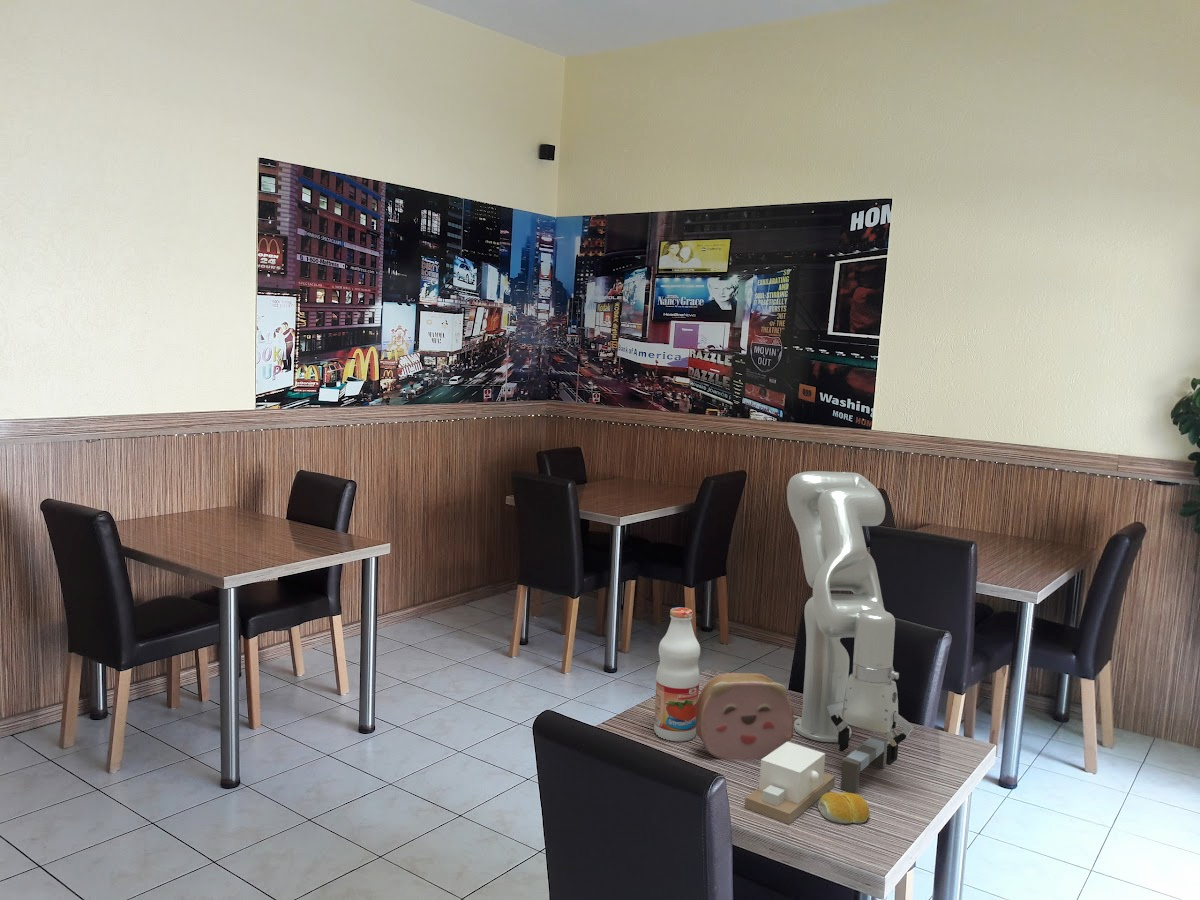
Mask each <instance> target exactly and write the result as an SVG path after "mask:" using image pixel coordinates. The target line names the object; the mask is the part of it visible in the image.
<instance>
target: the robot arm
mask: <svg viewBox="0 0 1200 900" xmlns="http://www.w3.org/2000/svg"><path fill="white" fill-rule="evenodd" d="M786 500H787V506H788V510H789V512H790V517H791V518H792V521H793V523H794V525H795V527H796V530H797V533H798V537H799V542H800V549H801V550H800V551H801V556H802V557H801V558H802V564H803V569H804V570H803V571H804V574H805V575H804V576H805V579H806V580H805V581H806V582H807V584H808V586H809V587H810V588H812V596H811V597H810V598H808V600H807V601H806V603H805V605H804V611H803V612H804V623H805V635H806V636H805V637H806V638H805V639H806V642H805V643H806V646H805V666H804V679H803V680H804V681H803V691H802V692H803V693H802V709H801V717H799V718H797V719H795V720H794V723H793V730H794V731H795V732H796V733H797V734H798V735H801V736H802V737H804V738H806V739H810V740H812V741H815V742H822V743H823V742H824V743H837V745H839V747H838V749H839V750H838V751H839V752H844V751H846V750H847V749H848V748H849V746H850V742H849V741H850V738H851V737H852V733H853V732H852V728H851V726H852V727H855V728H859V729H862V730H866V731H869V732H873V733H877V734H881V735H884V736H885V739H887V742H889V743H887V752H886V765H887V766H891V765H893V763H894V762H896V761H897V760H898V753H899V752H898V751H899V744H900V743H901V742H903V741H905V740H906V739H907V738H908V737H909V735H911V733H912V731H913V729H914V725H913V724H912V723H910V722H909V721H908V720H906V719H905V718H904V717H903V716H902V715H900V714H899V699H898V697H899V696H898V688H897V683H896V681H895V680H899V678H900V672H898V671H895V669H894V666H893V663H894V662H893V661H894V649H895V648H894V647H895V632H896V619H895V616H894V615H893V614H892V613H891V612H888V611H886V609H885V606H884V601H883V597H882V589H881V585H880V579H879V576H878V570H877V566H876V563H875V562H876V561H875V559H874V558H873V557H872V555H871V554H870V553H869V552H868V549H867V544H866V540H865V536H864V530H863V527H877V526H879V525H881V524H882V523H883V522H884V519H885V516H886V504H885V500H884V498H883V496H882V494H881V492H880V490H878V488H877V487H876V486H875V485H874V484H873V483H872V482H870V480H868V479H867V478H866V477H864V476H863V475H862V474H860V473H858V472H853V471H852V472H851V471H824V470H822V471H821V470H820V471H819V470H811V471H810V470H808V471H802V472H799V473H796V474H794V475H793V476H791V478H790V479H789V480H788V483H787V489H786ZM831 591H850V592H852V593H831ZM843 638H854V641H853V642H854V645H853V656H852V657H853V658H852V659H853V660H852V672H851V673H850V674H849V672H850V656H849V655H850V654H849V653H848V650H847V649H846V648H845V646H844V645H843V644H842V642H841V639H843ZM898 726H900V727H901V728H902V731H901V733H898V732H897V730H896V729H897V728H898Z"/></svg>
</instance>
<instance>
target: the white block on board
mask: <svg viewBox="0 0 1200 900" xmlns="http://www.w3.org/2000/svg"><path fill="white" fill-rule="evenodd" d="M825 762H826V753H824V752H821V751H817V750H816V749H812V748H809V747H805V746H802V745H800V744H796V743H792V742H790V741H788V742H786V743H785V744H783V745H782V746H780V747H779V748H777V749H776V750H774V751H773V752H771V753H770V754H769V755H767V756H766V757H764V758H763V759H760V767H759V768H760V771H759V784H758V785H759V786H758V788H756V789H755V790H754V791H752V792H750V793H749V794H748V795H746V797H744V798H745V799H744V809H746V810H749V811H753V812H755V813H757V814H760V815H763V816H764V817H765V816H766V817H768V818H771V819H774V820H776V821H779V822H781V823H784V824H786V825H790V824H791V823H792V822H793V821H795V820H796V819H797V818H798V817H799V816H800V815H802V814H803V813H804V812H806V811H807V810H808V809H809V808H810V807H811V806H812V805H814V804H815V803H816V802H817V801H818V800H820V798H821V796H823V795H824V794H825V793H829V791H830V790H831V789H833V787H835V784H836V783H835V780H836V776H835V775H832V774H830V773H826V772H825Z"/></svg>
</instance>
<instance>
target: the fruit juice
mask: <svg viewBox="0 0 1200 900" xmlns="http://www.w3.org/2000/svg"><path fill="white" fill-rule="evenodd" d="M693 614H694V613H693V610H692V609H691V608H688V607H682V606H681V607H679V606H678V607H677V606H676V607H672V608H671V609H670V612H669V617H670V623H669V626H668V628H667V631H666V633H665V635H664V636H663V637H662V639H660V642H659V645H658V656H659V664H658V666H657V668H656V669H657V670H656V678H655V679H656V680H655V681H656V683H655V699H654V703H655V704H654V718H653V719H654V721H653V722H654V724H653V731H654V733H656V734H655V735H656V736H657V735H658V736H657V737H659V738H660V737H661V738H660V739H662V738H663V739H662V740H665V739H666V740H665V741H669V740H670V741H669V742H687V741H690V740H692V739H694V738H695V737H696V736H697V734H696V716H697V703H698V698H699V695H700V693H699V692H700V678H701V677H700V669H699V665H698V664H699V663H698V662H699V659H700V656H701V645H700V643H699V641H698V639H697V637H696V634H695V632H694V629H693V624H692V619H693Z"/></svg>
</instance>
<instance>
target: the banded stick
mask: <svg viewBox="0 0 1200 900" xmlns="http://www.w3.org/2000/svg"><path fill="white" fill-rule="evenodd" d="M887 745H888V740H887V738H886V737H882V736H881V737H880V736H878V735H874V734H873V735H871V736H870V737H869V738H867V740H865V741H864V742H863V743H862V744H860V745H859V746H858V747H857V748H855V749H854V750H853V751H852V752H850V753H849V754H848V755H847V756H846V757H844V759H842V761H841V762H842V764H841V765H842V766H841V767H842V768H841V778H840V790H841V791H843V792H846V793H854V794H857V793H859V788H860V787H859V785H860V773H861V772H862V771H863V770H864V769H865V768H866V767H867V766H871V767H873V768H877V769H880V770H884V769H885V768H886V765H887V764H886V755H887Z"/></svg>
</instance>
